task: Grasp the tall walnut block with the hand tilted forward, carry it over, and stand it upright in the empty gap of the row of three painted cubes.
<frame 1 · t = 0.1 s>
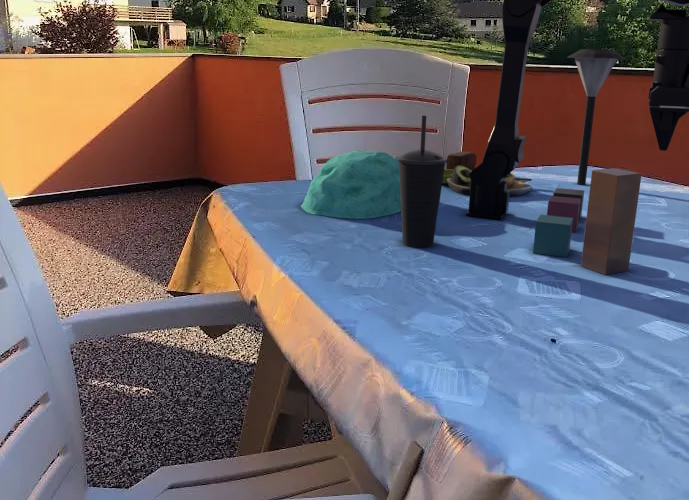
hand: (662, 146, 118), 15 cm above the table, tool pointing down, fingers open, 9 cm apart
cube far: (566, 218, 131), on the table
brick: (460, 172, 177), on the table
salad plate: (485, 190, 156), on the table
cube mid: (561, 227, 124), on the table
decorative stone: (359, 203, 140), on the table
cube near: (551, 251, 110), on the table
walnut block: (604, 268, 101), on the table
solar garden light: (581, 184, 164), on the table
drinking cup: (417, 244, 112), on the table
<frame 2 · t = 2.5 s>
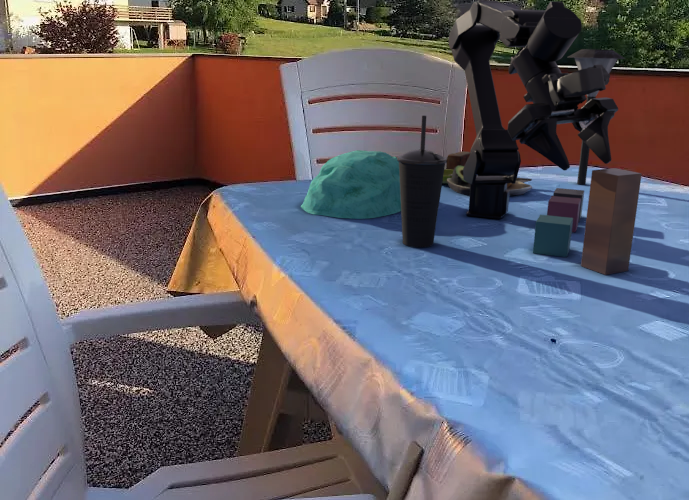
hand: (588, 165, 105), 14 cm above the table, tool tilted 40°, fingers open, 9 cm apart
nothing on the table moved.
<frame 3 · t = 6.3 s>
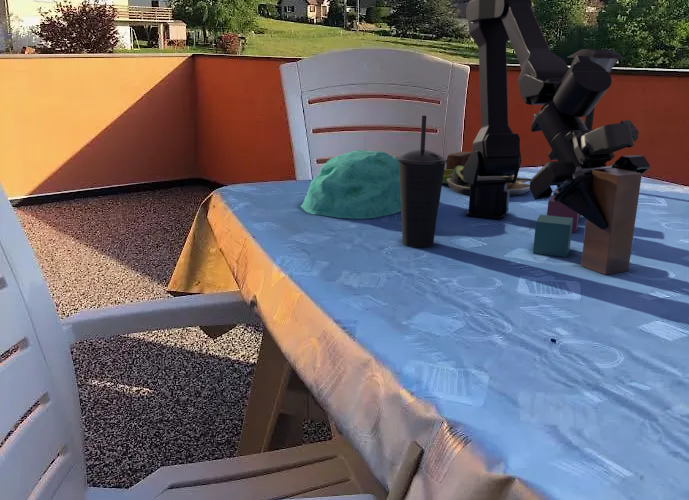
hand: (617, 226, 98), 7 cm above the table, tool tilted 45°, fingers closed on walnut block, 4 cm apart
walnut block: (604, 268, 101), on the table, touching gripper
everything else where it was.
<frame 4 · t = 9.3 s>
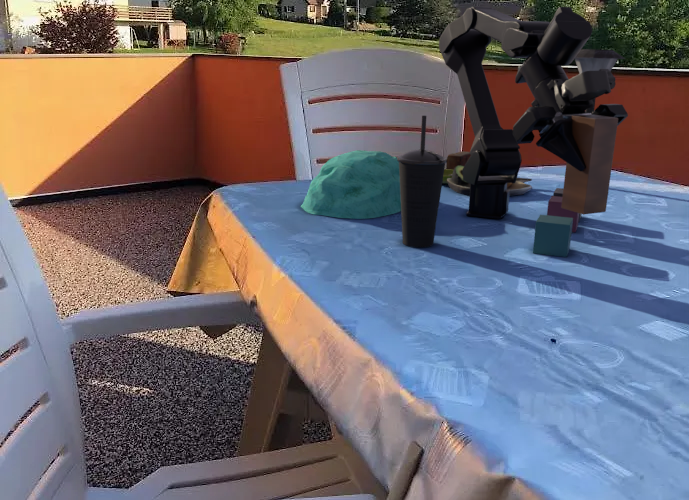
hand: (595, 168, 104), 13 cm above the table, tool tilted 45°, fingers closed on walnut block, 4 cm apart
walnut block: (583, 209, 107), point 7 cm above the table, touching gripper
everything else where it was.
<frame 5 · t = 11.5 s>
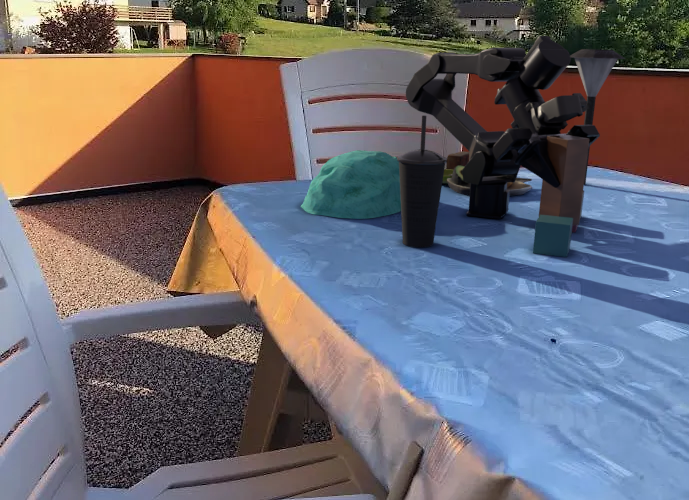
hand: (569, 185, 113), 9 cm above the table, tool tilted 45°, fingers closed on walnut block, 4 cm apart
walnut block: (558, 222, 116), point 3 cm above the table, touching gripper
everything else where it was.
when the fingers open (7 cm above the table, at t = 12.7 s): walnut block stays where it is, on the table.
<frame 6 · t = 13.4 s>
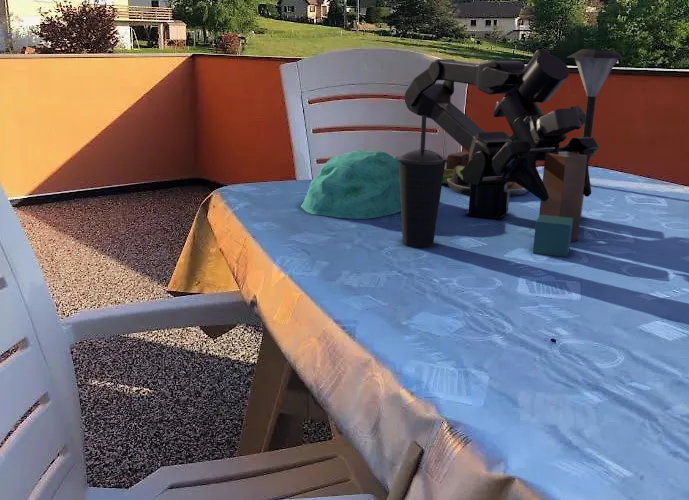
hand: (568, 197, 114), 7 cm above the table, tool tilted 45°, fingers open, 9 cm apart
walnut block: (557, 238, 117), on the table
everything else where it was.
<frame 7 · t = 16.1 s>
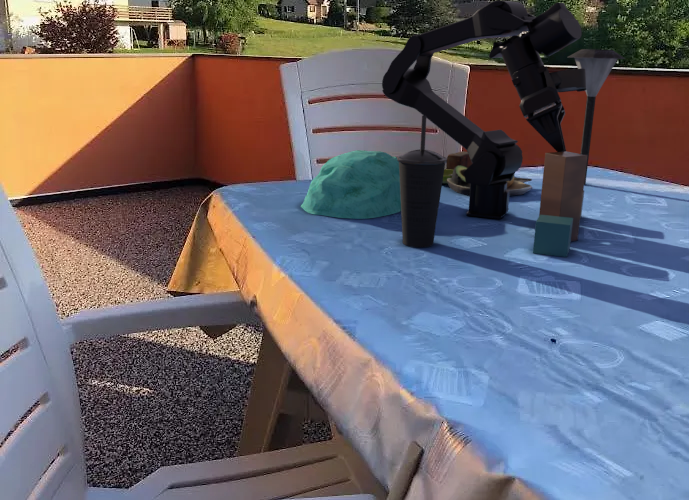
hand: (562, 153, 121), 13 cm above the table, tool tilted 30°, fingers open, 9 cm apart
nothing on the table moved.
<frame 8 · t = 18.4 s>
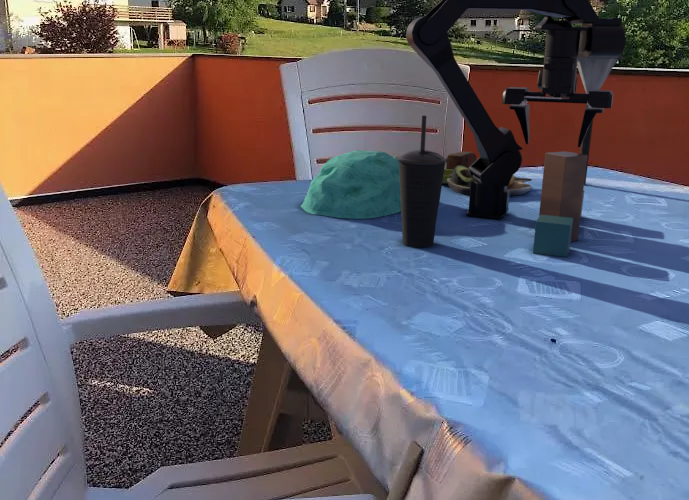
hand: (552, 145, 130), 13 cm above the table, tool pointing down, fingers open, 9 cm apart
nothing on the table moved.
at the end: walnut block 0.0 cm from the target spot on the table beside the cube mid, on the table; walnut block tilted 0°; the gripper is holding nothing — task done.
